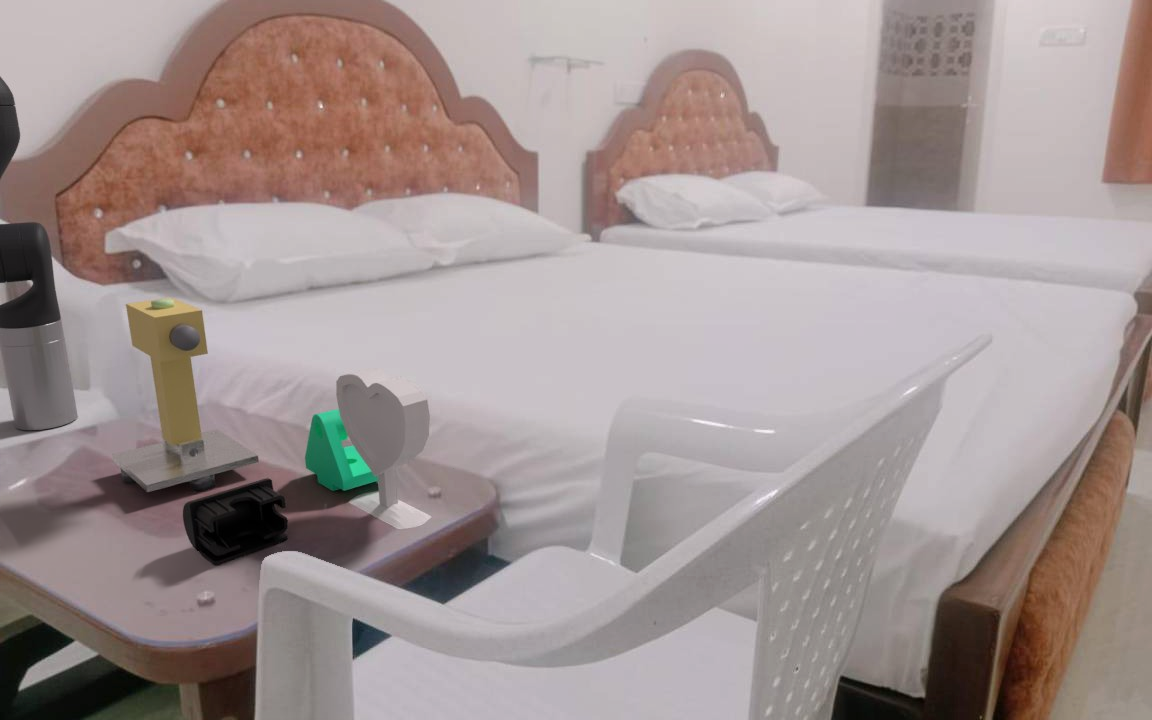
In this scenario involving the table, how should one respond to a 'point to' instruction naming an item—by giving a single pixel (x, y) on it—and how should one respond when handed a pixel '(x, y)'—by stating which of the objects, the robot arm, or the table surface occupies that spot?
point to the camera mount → (334, 454)
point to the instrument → (171, 360)
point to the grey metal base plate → (183, 462)
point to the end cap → (236, 522)
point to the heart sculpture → (384, 437)
